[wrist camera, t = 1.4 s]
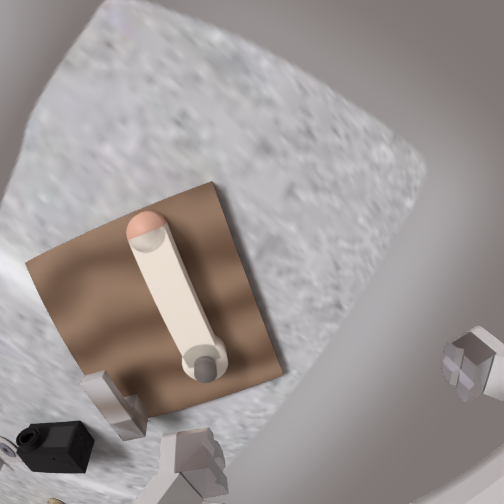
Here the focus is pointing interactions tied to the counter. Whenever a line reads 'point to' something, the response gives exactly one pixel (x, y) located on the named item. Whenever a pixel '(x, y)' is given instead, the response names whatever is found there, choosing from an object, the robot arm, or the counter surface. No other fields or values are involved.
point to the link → (174, 291)
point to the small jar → (55, 501)
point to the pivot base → (153, 315)
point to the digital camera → (55, 447)
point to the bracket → (8, 452)
